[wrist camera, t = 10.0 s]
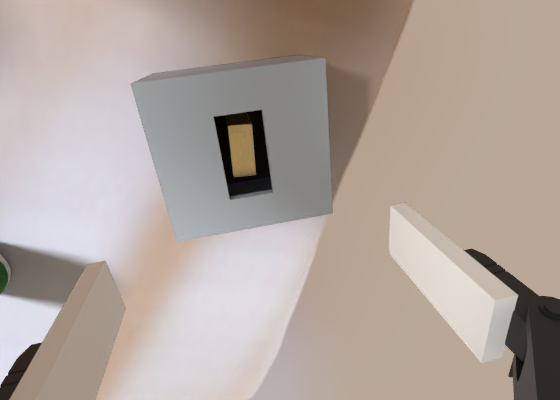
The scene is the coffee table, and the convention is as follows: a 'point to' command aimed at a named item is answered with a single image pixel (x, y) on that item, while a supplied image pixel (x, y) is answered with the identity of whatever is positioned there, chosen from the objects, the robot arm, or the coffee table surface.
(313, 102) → the box
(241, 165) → the block
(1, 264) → the soda can
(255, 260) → the coffee table surface
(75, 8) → the coffee table surface
